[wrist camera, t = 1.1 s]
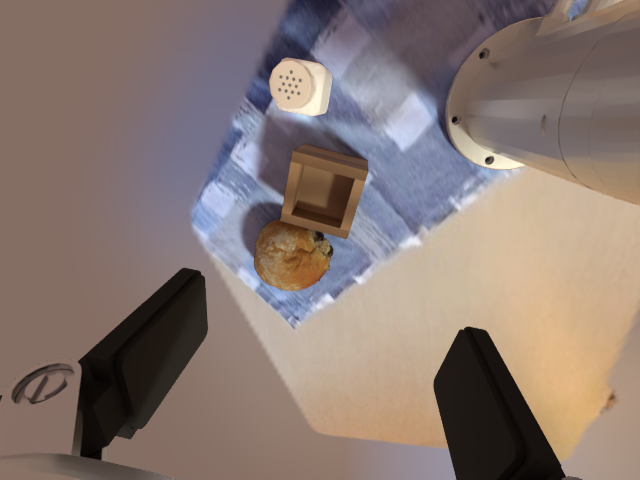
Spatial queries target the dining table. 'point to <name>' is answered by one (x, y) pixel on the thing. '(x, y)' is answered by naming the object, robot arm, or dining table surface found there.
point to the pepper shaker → (301, 86)
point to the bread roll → (291, 256)
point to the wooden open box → (323, 190)
